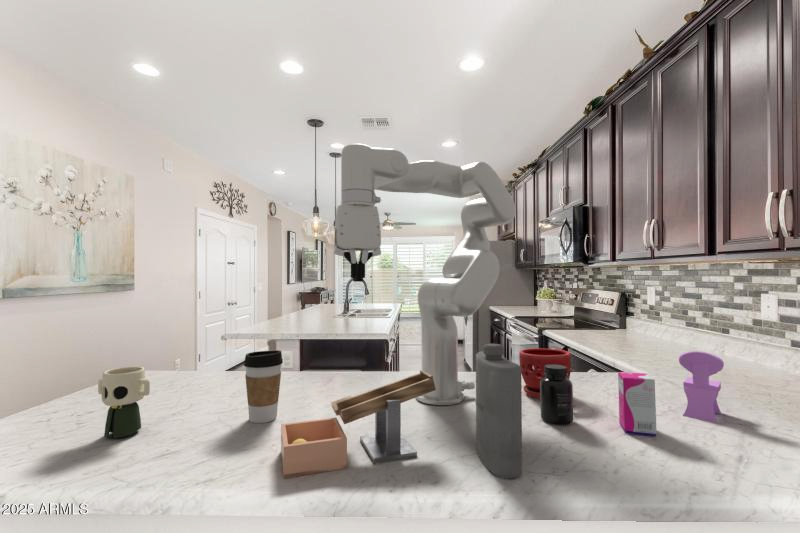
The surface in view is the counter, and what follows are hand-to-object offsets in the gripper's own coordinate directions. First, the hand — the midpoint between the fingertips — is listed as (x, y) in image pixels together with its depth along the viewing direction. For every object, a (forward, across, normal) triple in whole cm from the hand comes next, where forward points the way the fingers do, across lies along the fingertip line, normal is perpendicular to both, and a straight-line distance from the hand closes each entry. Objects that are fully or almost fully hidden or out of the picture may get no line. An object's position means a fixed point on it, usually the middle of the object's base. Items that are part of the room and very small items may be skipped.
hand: (357, 281), depth 89 cm
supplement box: (+31, -54, +25) cm, 67 cm away
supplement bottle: (+31, -42, +15) cm, 54 cm away
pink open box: (+31, +12, +16) cm, 37 cm away
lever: (+23, -2, +14) cm, 27 cm away
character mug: (+31, +47, -8) cm, 57 cm away
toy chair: (+31, -77, +23) cm, 86 cm away
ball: (+29, +14, +16) cm, 36 cm away
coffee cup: (+31, +20, -8) cm, 38 cm away
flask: (+31, -19, +26) cm, 45 cm away
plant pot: (+31, -52, -1) cm, 61 cm away
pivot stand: (+31, -2, +16) cm, 35 cm away
